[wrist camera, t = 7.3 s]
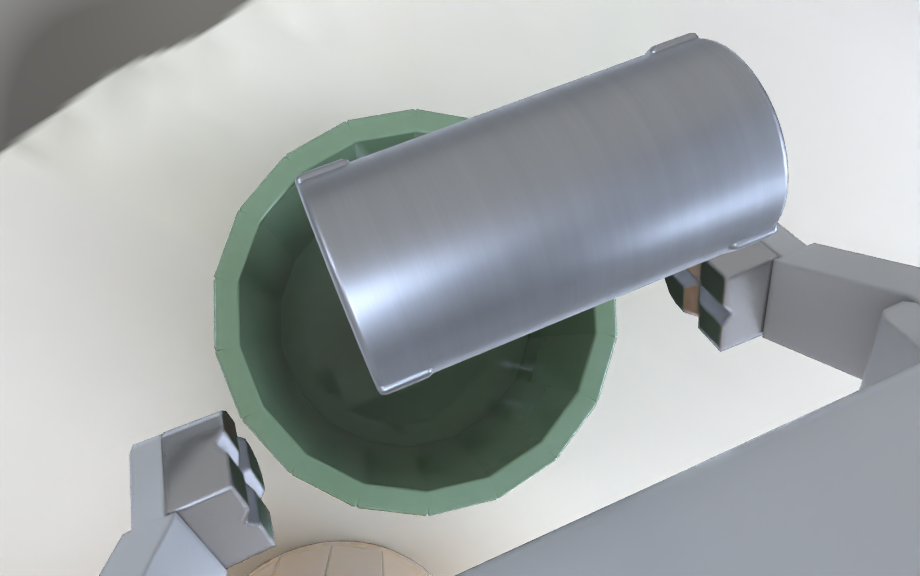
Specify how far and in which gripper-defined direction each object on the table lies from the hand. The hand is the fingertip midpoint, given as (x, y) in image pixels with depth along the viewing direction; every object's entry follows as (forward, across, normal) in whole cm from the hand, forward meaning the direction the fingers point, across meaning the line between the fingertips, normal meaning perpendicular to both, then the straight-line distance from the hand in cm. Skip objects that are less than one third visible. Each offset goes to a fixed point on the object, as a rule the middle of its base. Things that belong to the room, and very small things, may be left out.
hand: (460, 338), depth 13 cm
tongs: (+10, 0, +9) cm, 14 cm away
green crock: (+11, 0, +10) cm, 15 cm away
